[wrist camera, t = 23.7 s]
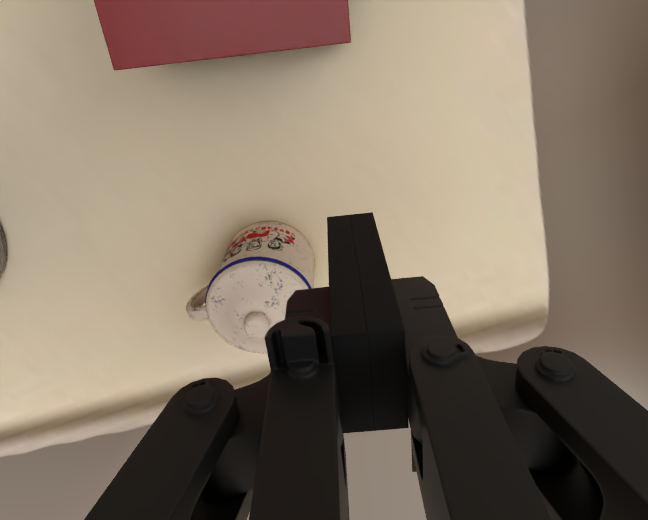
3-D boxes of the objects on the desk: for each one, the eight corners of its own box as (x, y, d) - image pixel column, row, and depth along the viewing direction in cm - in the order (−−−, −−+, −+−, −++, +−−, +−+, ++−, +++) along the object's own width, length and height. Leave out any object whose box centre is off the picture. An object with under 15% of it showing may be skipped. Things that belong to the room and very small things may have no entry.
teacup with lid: (299, 205, 43) (292, 262, 32) (328, 286, 47) (330, 360, 36) (182, 240, 44) (139, 305, 34) (219, 315, 48) (191, 394, 38)
